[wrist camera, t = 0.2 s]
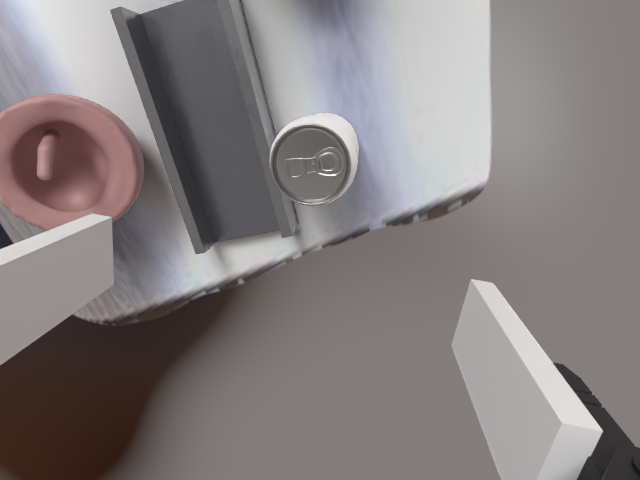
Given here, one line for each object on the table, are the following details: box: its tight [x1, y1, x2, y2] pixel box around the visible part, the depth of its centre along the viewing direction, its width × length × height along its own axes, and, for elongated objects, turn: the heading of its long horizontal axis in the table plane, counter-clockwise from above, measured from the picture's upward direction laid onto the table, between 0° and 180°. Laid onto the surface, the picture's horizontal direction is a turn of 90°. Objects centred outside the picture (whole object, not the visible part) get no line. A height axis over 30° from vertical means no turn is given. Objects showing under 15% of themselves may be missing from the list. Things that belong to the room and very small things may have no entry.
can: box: [270, 113, 359, 206], centre depth 32 cm, size 6×6×12 cm
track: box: [110, 0, 299, 254], centre depth 37 cm, size 22×10×4 cm, turn 13°
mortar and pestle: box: [0, 94, 145, 230], centre depth 35 cm, size 12×12×11 cm
